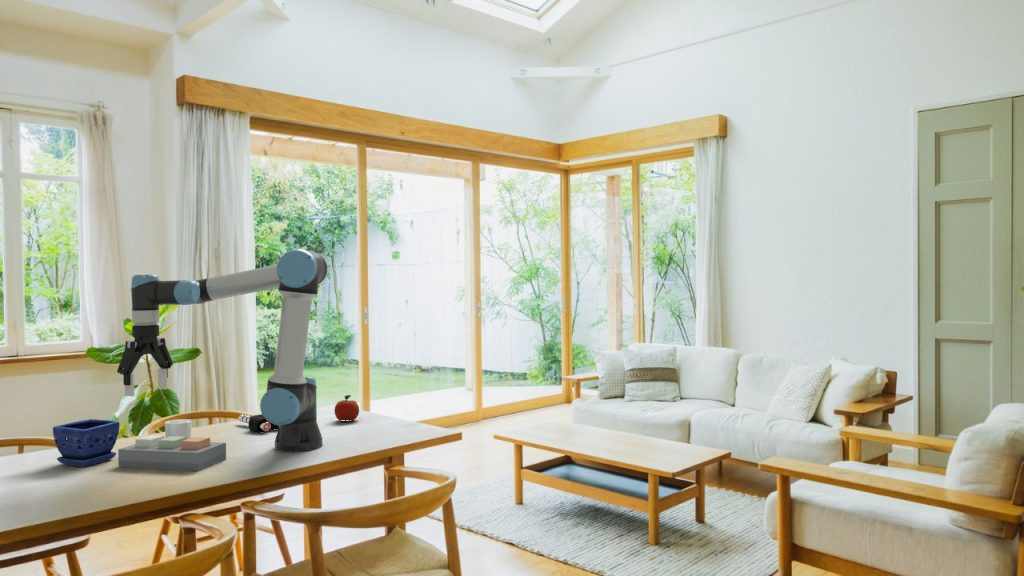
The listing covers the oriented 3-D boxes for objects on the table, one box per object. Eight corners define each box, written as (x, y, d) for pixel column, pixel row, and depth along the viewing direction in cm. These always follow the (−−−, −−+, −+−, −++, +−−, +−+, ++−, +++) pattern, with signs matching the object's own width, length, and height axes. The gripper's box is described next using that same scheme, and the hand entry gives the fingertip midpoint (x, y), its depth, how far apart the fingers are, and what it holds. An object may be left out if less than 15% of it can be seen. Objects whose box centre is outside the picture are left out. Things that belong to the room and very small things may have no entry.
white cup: (181, 455, 218) (180, 424, 218) (159, 454, 219) (159, 423, 219) (197, 449, 225) (197, 419, 225) (176, 449, 227) (175, 418, 227)
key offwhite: (164, 447, 212) (164, 435, 212) (151, 451, 207) (151, 439, 207) (148, 446, 213) (148, 435, 213) (135, 450, 208) (135, 439, 208)
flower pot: (122, 458, 215) (121, 420, 215) (83, 469, 202) (83, 429, 202) (90, 455, 219) (90, 418, 219) (50, 466, 207) (50, 426, 207)
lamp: (261, 420, 247) (225, 412, 263) (261, 435, 247) (225, 426, 263) (288, 415, 256) (252, 408, 272) (288, 430, 256) (252, 422, 272)
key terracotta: (210, 449, 209) (210, 437, 209) (198, 453, 203) (198, 441, 203) (194, 448, 210) (194, 437, 210) (182, 452, 204) (181, 441, 204)
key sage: (187, 448, 210) (186, 436, 210) (174, 452, 205) (174, 440, 205) (171, 447, 212) (171, 436, 212) (158, 451, 206) (158, 440, 206)
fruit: (330, 423, 267) (329, 397, 267) (340, 418, 276) (340, 393, 276) (353, 423, 265) (353, 397, 265) (363, 418, 275) (362, 393, 275)
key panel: (226, 459, 212) (225, 442, 212) (198, 470, 199) (198, 452, 199) (150, 456, 217) (149, 439, 217) (118, 466, 205) (118, 449, 205)
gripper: (164, 322, 227) (165, 386, 227) (102, 326, 203) (103, 398, 203) (184, 322, 225) (185, 386, 225) (124, 326, 201) (125, 399, 201)
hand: (146, 392), depth 214 cm, fingers open, 13 cm apart
